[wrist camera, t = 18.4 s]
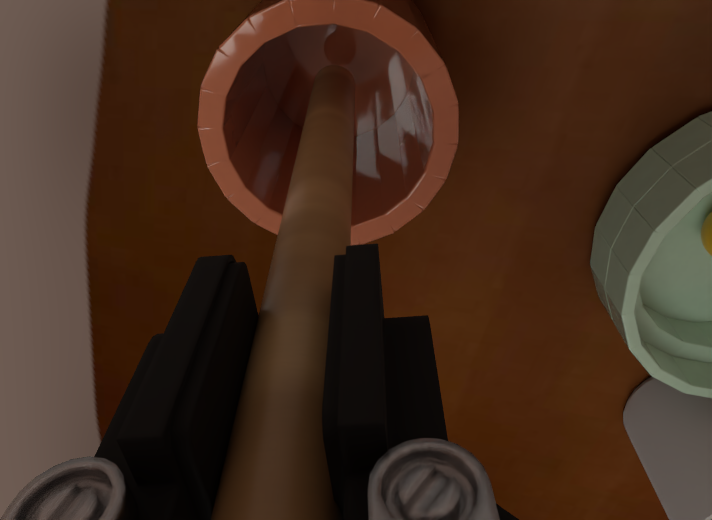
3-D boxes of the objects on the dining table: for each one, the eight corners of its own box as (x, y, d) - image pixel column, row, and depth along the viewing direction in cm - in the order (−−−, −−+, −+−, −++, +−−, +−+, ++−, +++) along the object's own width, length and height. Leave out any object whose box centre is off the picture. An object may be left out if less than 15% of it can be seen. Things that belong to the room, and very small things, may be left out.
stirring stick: (310, 67, 22) (149, 657, 5) (352, 61, 22) (321, 647, 5) (317, 108, 23) (199, 727, 6) (358, 102, 23) (348, 719, 6)
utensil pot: (230, -29, 24) (167, 9, 16) (427, -49, 23) (459, -21, 16) (264, 156, 28) (228, 255, 20) (432, 142, 27) (459, 238, 20)
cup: (752, 355, 34) (863, 486, 27) (718, 466, 40) (801, 601, 32) (627, 366, 35) (699, 497, 27) (609, 473, 40) (666, 608, 33)
